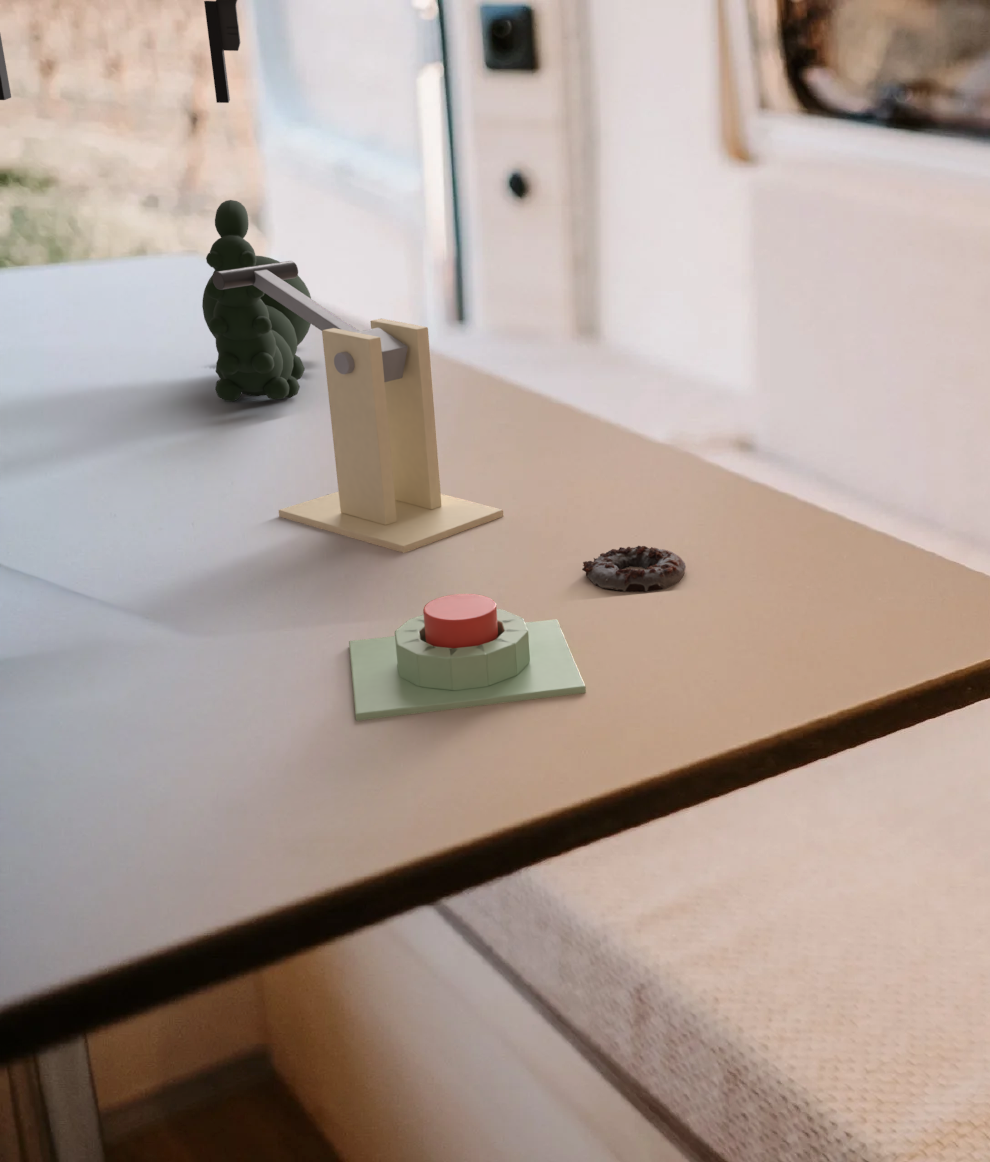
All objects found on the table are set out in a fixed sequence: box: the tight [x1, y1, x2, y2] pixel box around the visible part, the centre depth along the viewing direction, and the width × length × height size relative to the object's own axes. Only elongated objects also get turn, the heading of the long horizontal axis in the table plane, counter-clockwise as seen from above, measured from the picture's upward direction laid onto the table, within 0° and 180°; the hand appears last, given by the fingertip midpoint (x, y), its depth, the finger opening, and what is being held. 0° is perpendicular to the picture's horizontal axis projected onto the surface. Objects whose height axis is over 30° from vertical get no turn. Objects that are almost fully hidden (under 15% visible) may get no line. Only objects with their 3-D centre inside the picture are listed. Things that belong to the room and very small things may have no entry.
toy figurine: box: [201, 199, 312, 402], centre depth 130 cm, size 9×19×25 cm
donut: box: [581, 545, 686, 593], centre depth 91 cm, size 8×8×2 cm
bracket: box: [278, 318, 504, 554], centre depth 98 cm, size 12×9×14 cm
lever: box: [212, 260, 408, 382], centre depth 98 cm, size 14×6×2 cm, turn 59°
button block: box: [348, 608, 587, 722], centre depth 76 cm, size 11×9×4 cm
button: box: [422, 593, 498, 648], centre depth 75 cm, size 4×4×2 cm
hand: (115, 100), depth 100 cm, fingers open, 13 cm apart
